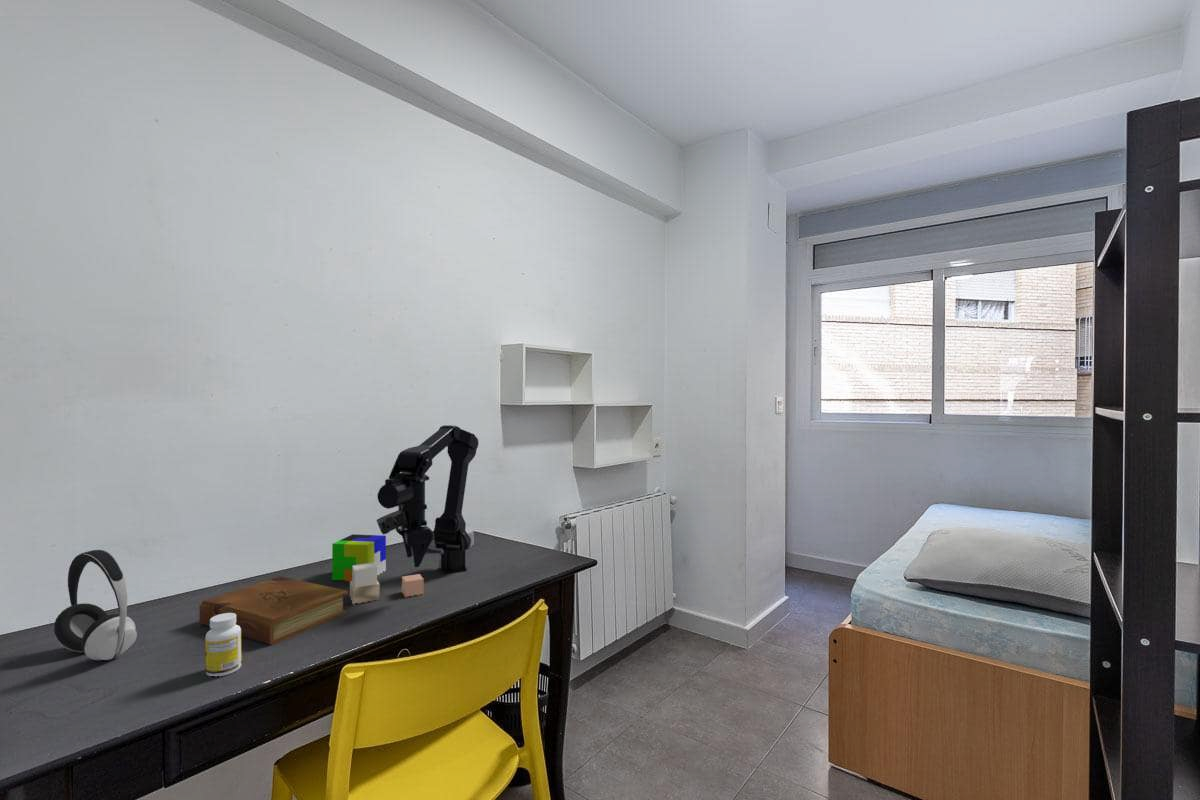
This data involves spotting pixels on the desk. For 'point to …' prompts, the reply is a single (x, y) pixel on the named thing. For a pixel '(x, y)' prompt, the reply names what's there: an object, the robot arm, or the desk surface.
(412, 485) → the robot arm
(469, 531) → the grey bowl
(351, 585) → the tower base
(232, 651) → the supplement bottle
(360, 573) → the tower top
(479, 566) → the desk surface
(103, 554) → the headphones
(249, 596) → the diary
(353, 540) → the puzzle toy
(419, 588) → the cube
